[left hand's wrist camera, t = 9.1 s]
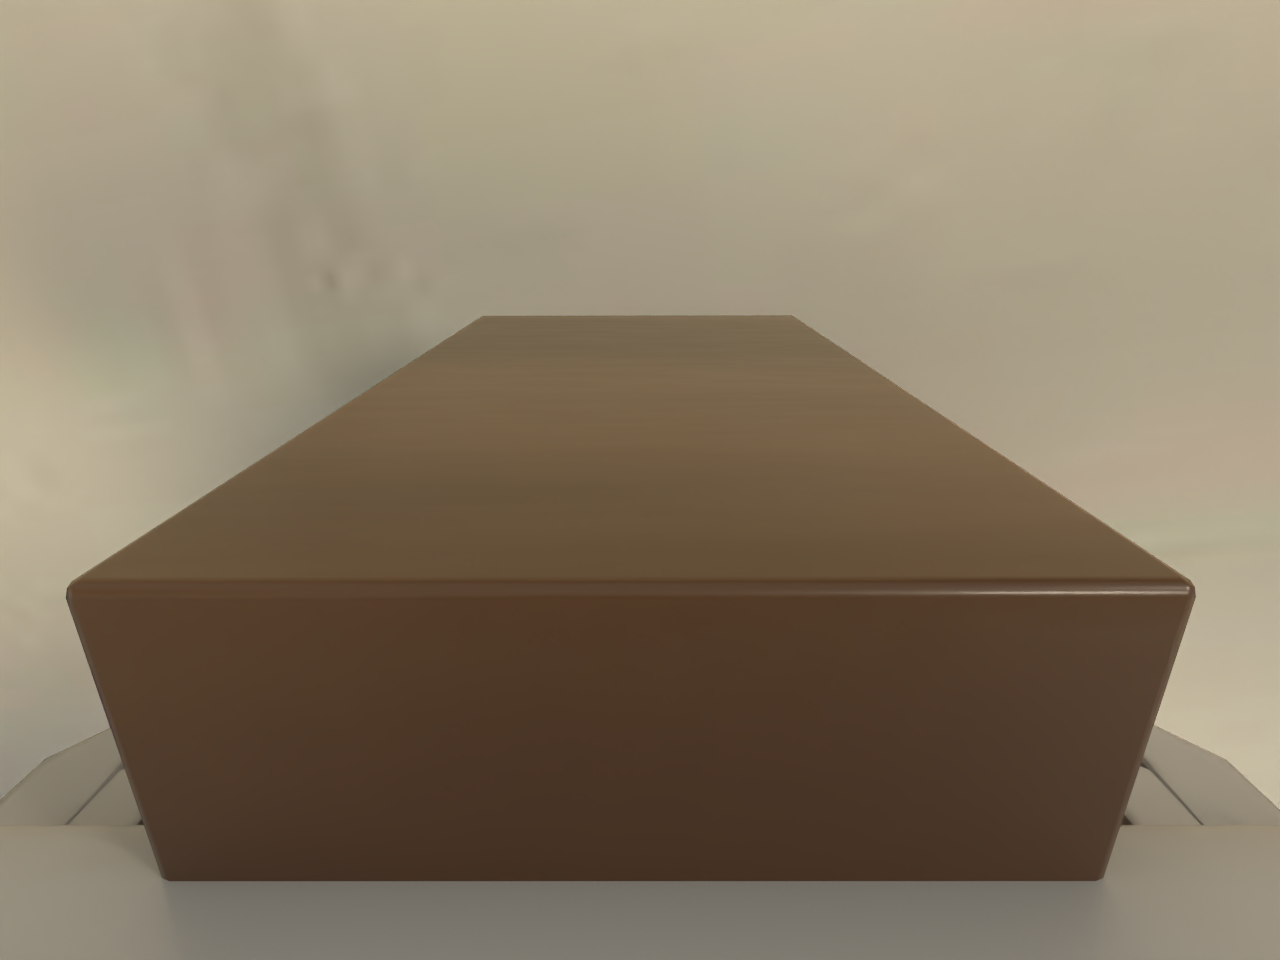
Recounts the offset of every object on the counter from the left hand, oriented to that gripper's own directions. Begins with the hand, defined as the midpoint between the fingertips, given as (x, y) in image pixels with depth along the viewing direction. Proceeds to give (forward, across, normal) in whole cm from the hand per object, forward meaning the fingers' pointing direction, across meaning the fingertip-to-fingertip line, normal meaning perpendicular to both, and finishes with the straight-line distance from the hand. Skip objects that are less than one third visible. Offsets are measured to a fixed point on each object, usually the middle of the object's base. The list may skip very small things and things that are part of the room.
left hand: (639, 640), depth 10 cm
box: (+5, 0, -10) cm, 11 cm away
